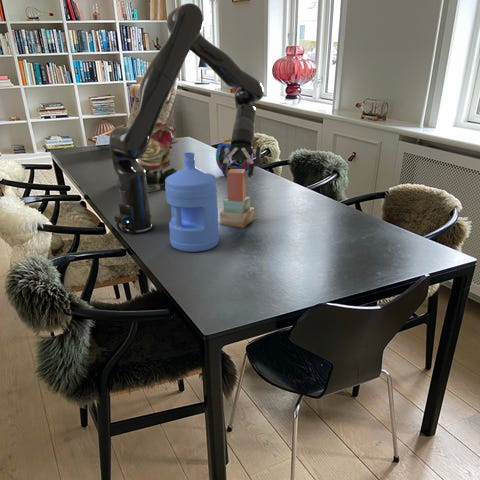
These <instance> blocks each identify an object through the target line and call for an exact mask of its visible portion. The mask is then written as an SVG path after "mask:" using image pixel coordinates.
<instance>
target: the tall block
mask: <svg viewBox="0 0 480 480" xmlns="http://www.w3.org/2000/svg"><path fill="white" fill-rule="evenodd" d="M226 177H227V178H226V179H227V198H228V200H232V201H243V200H244V198H245V197H247V196H246V189H247V188H246V172H245V169H230V170H229V171H228V172H227V176H226Z"/></svg>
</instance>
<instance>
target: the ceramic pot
mask: <svg viewBox="0 0 480 480" xmlns="http://www.w3.org/2000/svg"><path fill="white" fill-rule="evenodd" d="M231 139H232V138H229V139H224V140H222V141H220V143H219V144H218V145H217V148H216V151H215V161H216V165H217V167H218V168H219V170H220V171H221V172H222V168H223V165H220V164H219V161H218V159H219V154H220V150H221V147H222V146H224V148H229V147H230V146H231ZM229 154H230V153H229V152H227V154H226V155H225V157H224V160H225V159H226V158H227V156H228V155H229ZM250 157H251V159H252V160H253V161H254V153H252V155H251V156H250ZM230 169H245V173H246V172H248V170H249V164H248V162H247V161H246V160H245V161H235V160H234V161H233V162H232V163H230V164H229V165H228V170H227V172H228V171H229V170H230Z"/></svg>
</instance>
